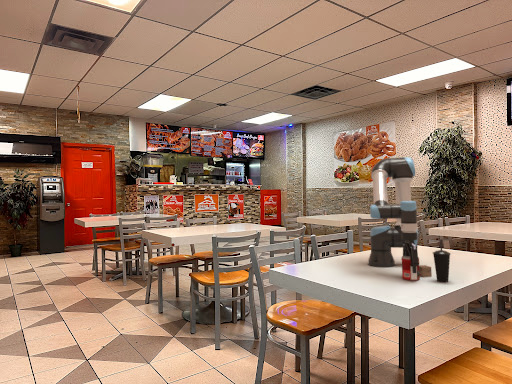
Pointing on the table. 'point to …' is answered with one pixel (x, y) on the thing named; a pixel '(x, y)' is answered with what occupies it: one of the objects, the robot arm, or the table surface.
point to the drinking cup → (442, 264)
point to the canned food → (408, 268)
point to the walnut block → (425, 271)
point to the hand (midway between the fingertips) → (410, 277)
